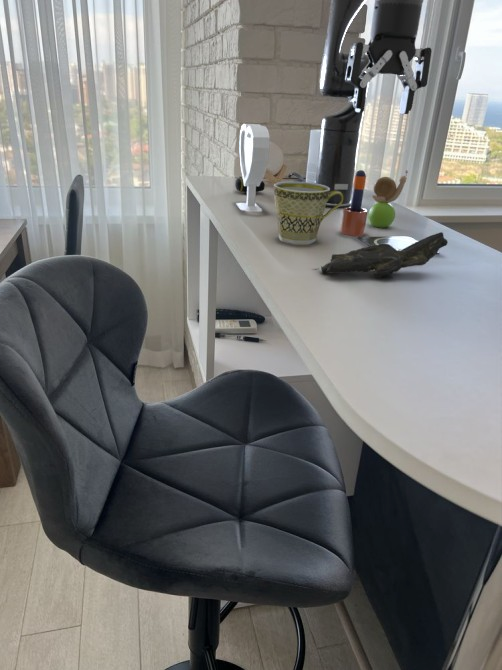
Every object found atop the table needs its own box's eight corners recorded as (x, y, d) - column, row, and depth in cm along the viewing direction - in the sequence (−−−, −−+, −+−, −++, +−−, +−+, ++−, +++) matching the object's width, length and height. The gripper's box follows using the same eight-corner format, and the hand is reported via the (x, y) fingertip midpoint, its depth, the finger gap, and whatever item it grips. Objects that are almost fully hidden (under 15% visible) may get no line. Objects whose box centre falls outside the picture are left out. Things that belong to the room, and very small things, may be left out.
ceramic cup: (275, 248, 89) (280, 191, 85) (265, 233, 98) (269, 180, 93) (346, 249, 91) (354, 192, 87) (329, 234, 100) (336, 182, 95)
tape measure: (265, 194, 134) (266, 179, 132) (242, 195, 130) (243, 180, 129) (252, 189, 139) (253, 175, 137) (230, 190, 136) (231, 176, 134)
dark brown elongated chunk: (329, 297, 76) (453, 271, 78) (329, 266, 73) (458, 239, 75) (317, 277, 81) (433, 253, 83) (316, 247, 78) (437, 222, 80)
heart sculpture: (234, 201, 123) (237, 121, 115) (254, 201, 124) (258, 122, 116) (246, 216, 110) (250, 127, 102) (268, 216, 111) (274, 128, 103)
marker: (345, 231, 101) (353, 169, 96) (355, 231, 101) (364, 169, 96) (349, 234, 99) (358, 171, 94) (359, 234, 100) (368, 171, 94)
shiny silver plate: (356, 239, 97) (357, 236, 97) (408, 239, 100) (409, 235, 99) (382, 257, 88) (383, 253, 87) (439, 256, 90) (439, 252, 90)
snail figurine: (398, 232, 104) (409, 172, 99) (366, 229, 105) (375, 169, 100) (396, 226, 109) (407, 168, 103) (366, 223, 110) (375, 166, 104)
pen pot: (337, 232, 102) (340, 207, 100) (358, 231, 103) (361, 207, 101) (345, 238, 98) (349, 212, 96) (367, 237, 99) (371, 212, 97)
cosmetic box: (323, 183, 153) (329, 128, 146) (340, 187, 149) (347, 130, 142) (304, 185, 148) (309, 128, 141) (320, 189, 144) (326, 131, 137)
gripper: (425, 10, 86) (407, 113, 94) (348, 2, 83) (335, 110, 90) (450, 5, 80) (428, 116, 87) (367, -4, 77) (352, 113, 84)
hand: (381, 113), depth 89 cm, fingers open, 8 cm apart
